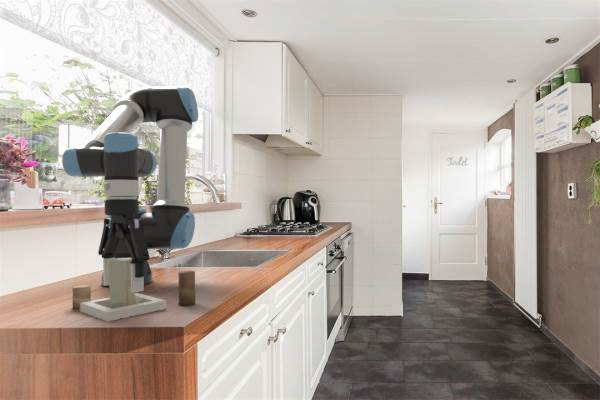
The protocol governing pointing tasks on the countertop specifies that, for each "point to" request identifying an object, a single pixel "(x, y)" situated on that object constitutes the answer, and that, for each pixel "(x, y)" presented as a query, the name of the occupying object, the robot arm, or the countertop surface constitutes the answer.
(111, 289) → the skincare box
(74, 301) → the short oak dowel
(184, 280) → the mid walnut dowel
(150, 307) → the white square frame
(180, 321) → the countertop surface
